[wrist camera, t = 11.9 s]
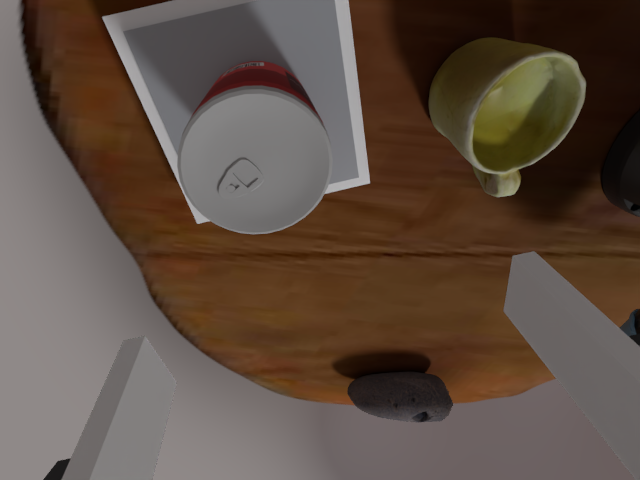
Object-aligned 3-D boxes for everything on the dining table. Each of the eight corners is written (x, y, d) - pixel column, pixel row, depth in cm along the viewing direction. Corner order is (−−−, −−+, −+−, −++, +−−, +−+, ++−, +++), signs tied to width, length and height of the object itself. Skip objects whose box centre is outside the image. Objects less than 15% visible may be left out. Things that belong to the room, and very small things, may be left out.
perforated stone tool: (340, 386, 54) (349, 430, 48) (348, 364, 51) (359, 408, 46) (427, 386, 57) (445, 428, 52) (439, 365, 55) (460, 407, 49)
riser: (334, -34, 26) (344, -40, 22) (360, 168, 34) (371, 184, 31) (120, 16, 25) (99, 17, 22) (203, 205, 34) (196, 226, 31)
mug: (421, 23, 27) (527, 66, 20) (516, 16, 30) (631, 51, 24) (390, 162, 35) (458, 223, 29) (467, 144, 39) (543, 195, 32)
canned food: (188, 130, 27) (148, 193, 17) (241, 32, 24) (227, 46, 14) (273, 181, 30) (278, 257, 21) (330, 101, 27) (364, 148, 18)
